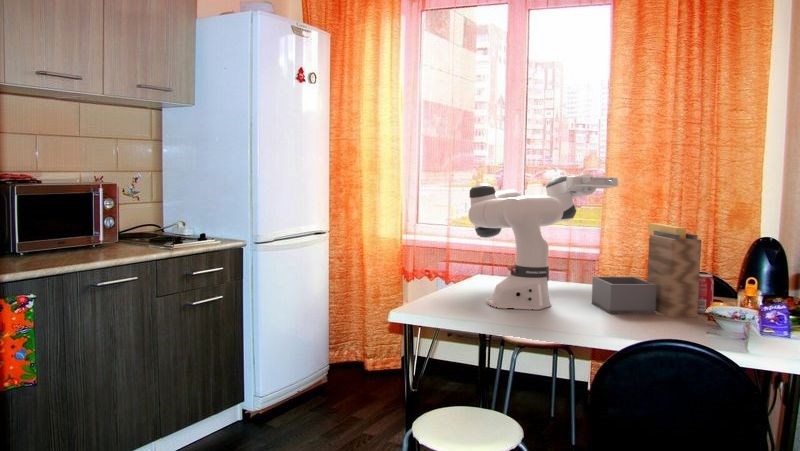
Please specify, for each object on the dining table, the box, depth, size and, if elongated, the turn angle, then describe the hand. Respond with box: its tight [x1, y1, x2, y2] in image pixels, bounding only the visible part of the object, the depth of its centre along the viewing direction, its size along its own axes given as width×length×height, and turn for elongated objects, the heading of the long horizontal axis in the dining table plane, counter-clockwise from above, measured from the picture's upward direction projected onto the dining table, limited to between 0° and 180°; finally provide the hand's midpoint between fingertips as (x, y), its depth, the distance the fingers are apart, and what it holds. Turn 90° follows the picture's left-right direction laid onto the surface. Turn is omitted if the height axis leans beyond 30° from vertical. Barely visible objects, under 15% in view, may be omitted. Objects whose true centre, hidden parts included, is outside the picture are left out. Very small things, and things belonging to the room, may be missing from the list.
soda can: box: [697, 273, 715, 315], centre depth 221 cm, size 7×7×13 cm
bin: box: [591, 276, 657, 315], centre depth 224 cm, size 16×16×10 cm
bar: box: [647, 222, 687, 238], centre depth 224 cm, size 4×20×4 cm, turn 5°
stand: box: [646, 231, 702, 318], centre depth 219 cm, size 10×16×28 cm, turn 5°
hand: (601, 179), depth 254 cm, fingers open, 8 cm apart
